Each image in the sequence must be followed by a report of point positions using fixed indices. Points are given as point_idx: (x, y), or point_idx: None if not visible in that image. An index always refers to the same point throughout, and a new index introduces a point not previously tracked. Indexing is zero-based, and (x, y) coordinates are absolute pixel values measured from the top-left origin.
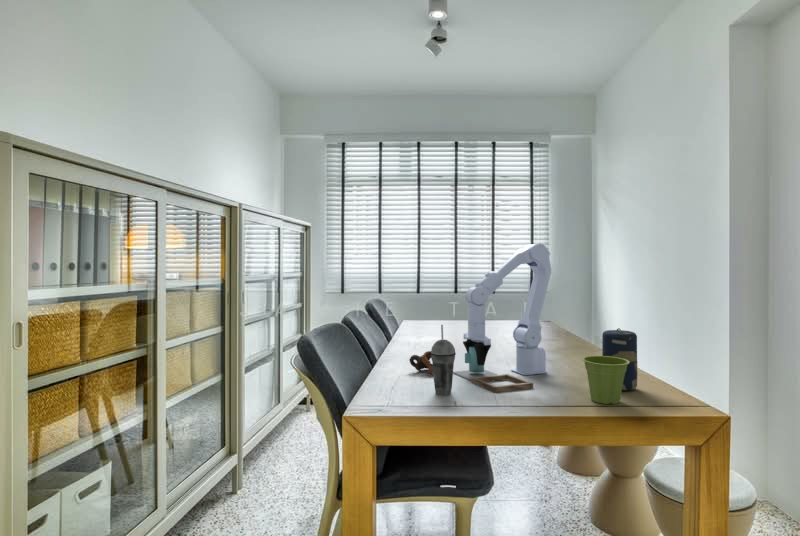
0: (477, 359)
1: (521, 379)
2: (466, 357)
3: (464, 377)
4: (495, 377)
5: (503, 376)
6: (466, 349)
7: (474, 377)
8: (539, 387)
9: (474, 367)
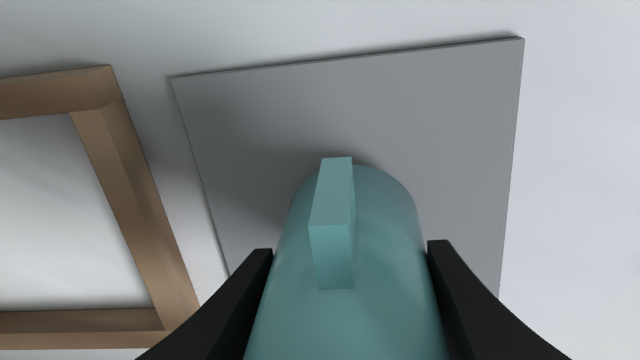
0: (239, 279)
1: (43, 342)
2: (314, 200)
3: (268, 67)
4: (140, 256)
5: (161, 306)
6: (517, 331)
7: (94, 102)
8: (4, 354)
9: (294, 209)
